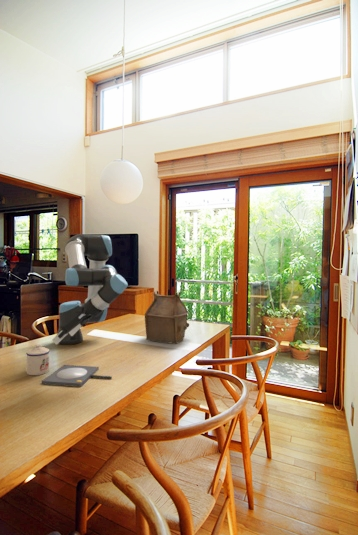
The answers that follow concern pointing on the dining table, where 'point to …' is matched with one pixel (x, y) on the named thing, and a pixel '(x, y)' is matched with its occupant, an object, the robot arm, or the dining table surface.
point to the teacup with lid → (37, 360)
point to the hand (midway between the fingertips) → (62, 337)
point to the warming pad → (72, 375)
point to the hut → (166, 319)
